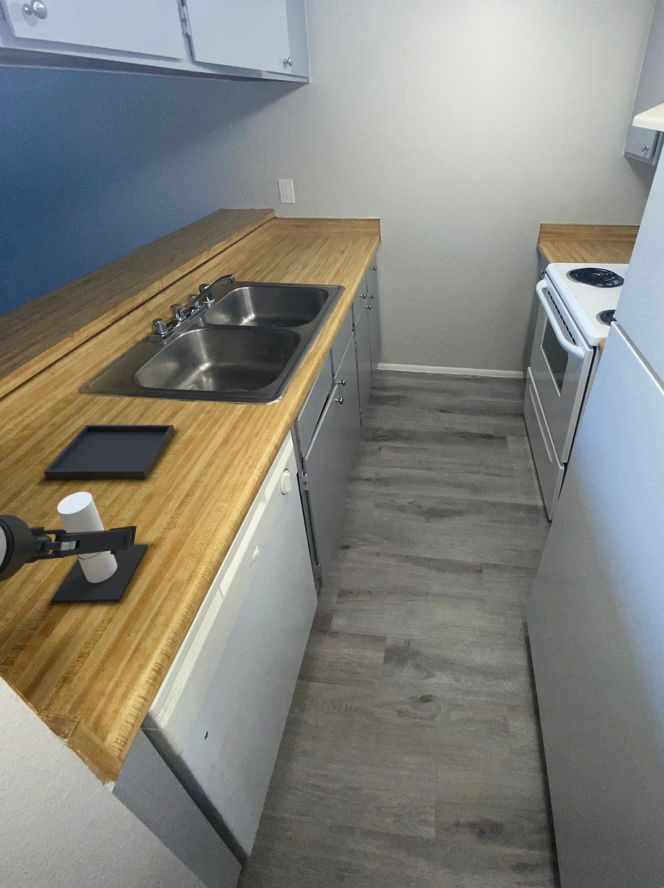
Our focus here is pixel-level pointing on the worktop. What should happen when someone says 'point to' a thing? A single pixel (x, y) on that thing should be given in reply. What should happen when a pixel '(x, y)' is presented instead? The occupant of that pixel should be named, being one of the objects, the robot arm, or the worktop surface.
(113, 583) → the mat
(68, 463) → the tray
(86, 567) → the tube
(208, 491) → the worktop surface
